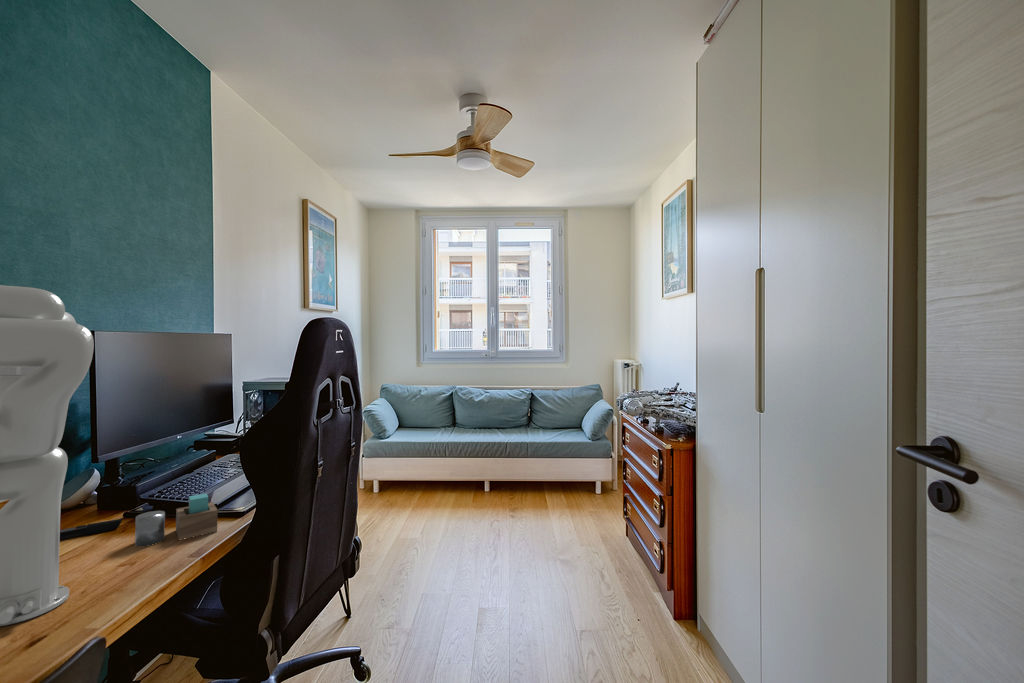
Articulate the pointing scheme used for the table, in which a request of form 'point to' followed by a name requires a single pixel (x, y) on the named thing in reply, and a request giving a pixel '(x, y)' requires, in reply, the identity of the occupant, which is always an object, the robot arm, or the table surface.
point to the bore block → (196, 522)
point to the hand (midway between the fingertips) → (14, 443)
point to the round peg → (149, 528)
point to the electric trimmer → (90, 528)
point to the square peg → (198, 503)
